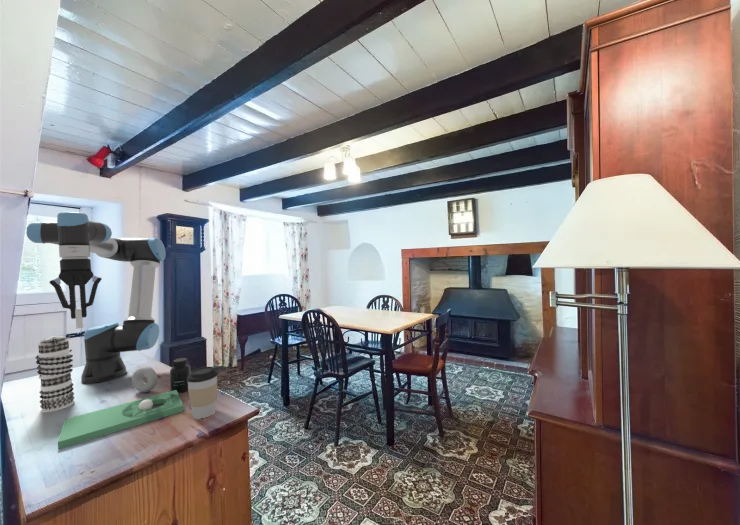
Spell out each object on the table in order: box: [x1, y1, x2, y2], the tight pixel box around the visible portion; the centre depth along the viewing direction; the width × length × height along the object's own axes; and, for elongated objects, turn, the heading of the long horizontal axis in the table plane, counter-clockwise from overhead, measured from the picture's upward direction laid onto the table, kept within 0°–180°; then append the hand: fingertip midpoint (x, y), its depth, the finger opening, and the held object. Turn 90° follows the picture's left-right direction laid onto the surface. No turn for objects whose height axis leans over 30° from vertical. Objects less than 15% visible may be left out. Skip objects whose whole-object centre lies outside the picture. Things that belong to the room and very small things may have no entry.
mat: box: [57, 390, 185, 450], centre depth 100 cm, size 16×30×2 cm, turn 129°
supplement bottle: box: [169, 357, 191, 394], centre depth 120 cm, size 7×7×12 cm
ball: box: [138, 399, 153, 411], centre depth 103 cm, size 4×4×4 cm
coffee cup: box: [187, 366, 219, 420], centre depth 101 cm, size 9×9×15 cm
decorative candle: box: [35, 335, 75, 413], centre depth 109 cm, size 9×9×25 cm
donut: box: [131, 366, 158, 393], centre depth 119 cm, size 10×4×10 cm, turn 84°
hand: (79, 327), depth 104 cm, fingers closed
